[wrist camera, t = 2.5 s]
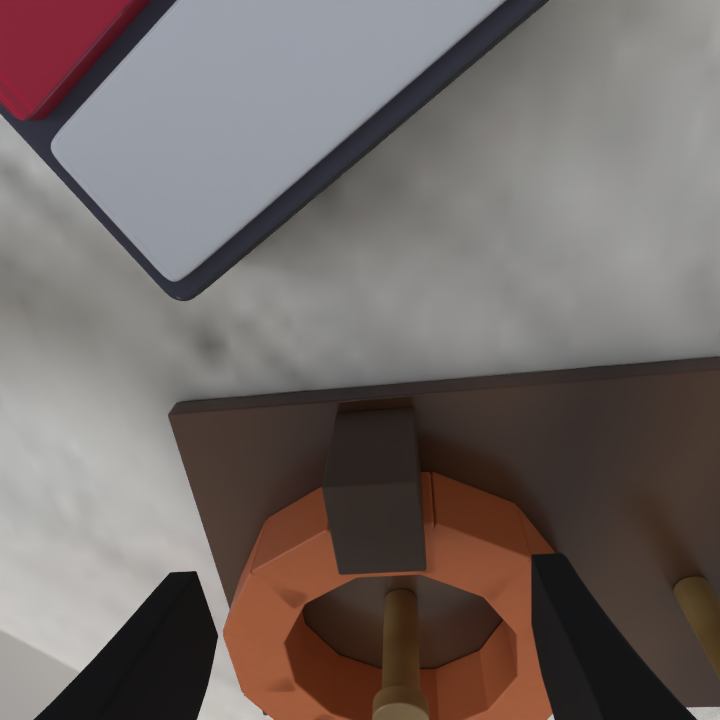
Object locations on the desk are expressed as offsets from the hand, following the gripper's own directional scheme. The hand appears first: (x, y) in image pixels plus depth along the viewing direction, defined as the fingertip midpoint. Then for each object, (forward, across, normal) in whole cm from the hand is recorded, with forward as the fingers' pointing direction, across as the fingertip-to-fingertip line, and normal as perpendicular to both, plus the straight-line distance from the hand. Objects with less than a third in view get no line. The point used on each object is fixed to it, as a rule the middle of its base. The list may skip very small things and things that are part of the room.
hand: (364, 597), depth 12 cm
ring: (+6, 0, +6) cm, 8 cm away
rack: (+7, -5, +7) cm, 11 cm away
